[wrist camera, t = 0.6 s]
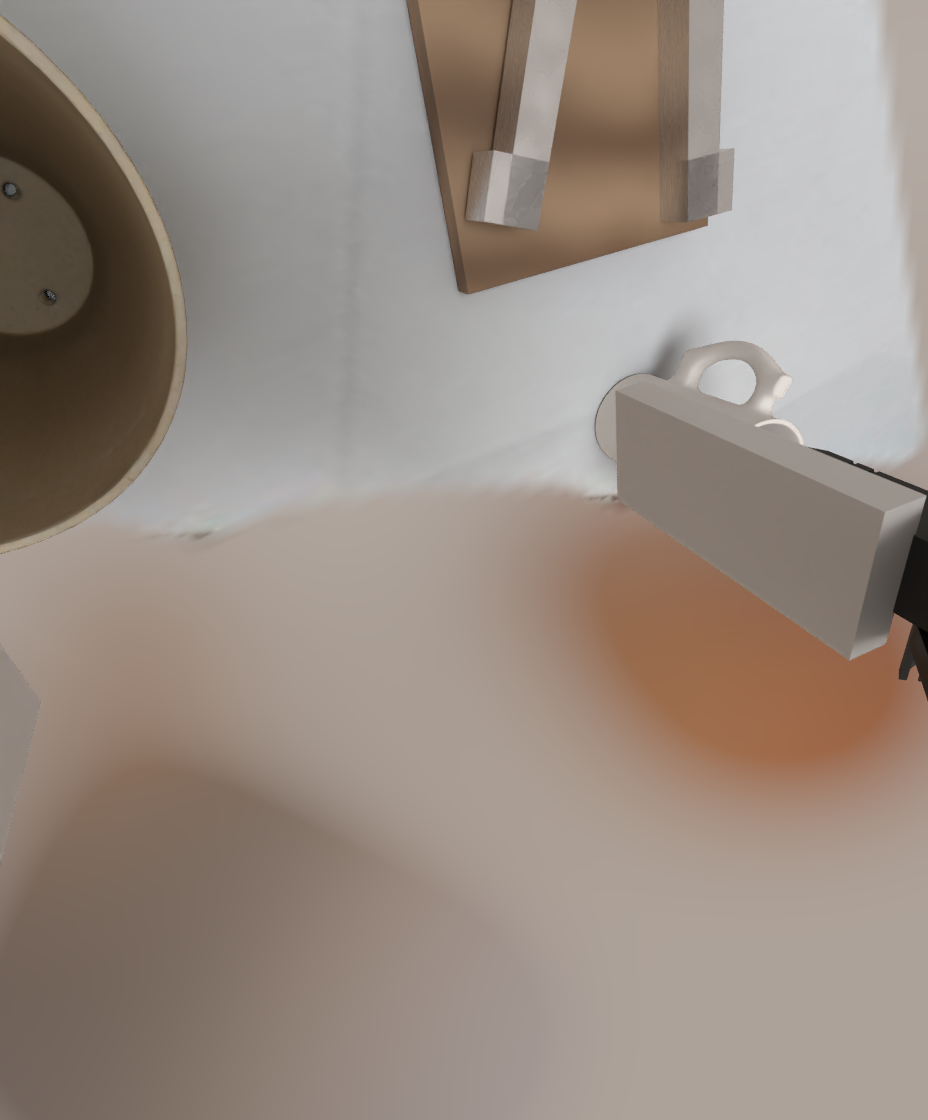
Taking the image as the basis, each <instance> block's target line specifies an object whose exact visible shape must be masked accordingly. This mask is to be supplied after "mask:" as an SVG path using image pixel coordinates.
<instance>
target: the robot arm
mask: <svg viewBox="0 0 928 1120" xmlns="http://www.w3.org/2000/svg"><path fill="white" fill-rule="evenodd" d="M615 400H616V444H617V489H618V500H619V501H620V502H622V503H623V504H625V505H626V506H628V507H629V508H630V509H632V510H633V511H635V512H636V513H638V514H639V515H641V516H642V517H643V518H645V519H646V520H648V521H649V522H651V523H652V524H654V525H655V526H657V527H658V528H659V529H661V530H662V531H664V532H665V533H666V534H668V535H669V536H671V537H672V538H674V539H675V540H677V541H678V542H679V543H681V544H682V545H684V546H685V547H687V548H688V549H690V550H691V551H692V552H694V553H695V554H697V555H698V556H700V557H701V558H703V559H704V560H706V561H707V562H708V563H710V564H711V565H713V566H714V567H715V568H717V569H718V570H720V571H722V572H723V573H724V574H726V575H727V576H728V577H730V578H731V579H733V580H734V581H736V582H737V583H739V584H740V585H742V586H743V587H744V588H746V589H747V590H749V591H750V592H752V593H753V594H754V595H756V596H757V597H759V598H760V599H762V600H763V601H765V602H766V603H767V604H769V605H770V606H772V607H773V608H775V609H776V610H778V611H779V612H781V613H782V614H783V615H785V616H786V617H788V618H789V619H791V620H792V621H793V622H795V623H796V624H798V625H799V626H801V627H802V628H804V629H805V630H806V631H808V632H809V633H811V634H813V635H814V636H815V637H816V638H818V639H819V640H821V641H822V642H824V643H825V644H826V645H828V646H829V647H831V648H832V649H834V650H835V651H837V652H838V653H839V654H841V655H842V656H844V657H845V658H847V659H848V660H851V659H854V658H856V657H858V656H860V655H862V654H864V653H867V652H869V651H871V650H873V649H875V648H877V647H880V646H882V645H884V644H886V641H887V637H888V634H889V630H890V627H891V623H892V619H893V616H894V613H896V614H897V615H899V616H901V617H902V618H904V619H906V620H907V621H909V622H911V623H912V624H913V625H912V628H911V631H910V635H909V638H908V642H907V645H906V648H905V652H904V655H903V658H902V662H901V665H900V668H899V679H901V680H907V677H908V674H909V671H910V669H911V668H912V667H913V666H915V665H916V666H917V669H918V673H919V678H918V681H921V682H922V684H923V688H924V691H925V694H926V697H927V700H928V491H927V490H924V489H922V488H920V487H917V486H914V485H912V484H909V483H907V482H904V481H902V480H899V479H897V478H894V477H892V476H889V475H887V474H884V473H882V472H876V473H875V472H874V469H872V468H869V467H867V466H864V465H862V464H859V463H857V464H854V463H853V461H852V460H849V459H847V458H844V457H842V456H839V455H837V454H834V453H832V452H829V451H825V450H820V449H815V448H810V447H806V446H803V445H801V444H798V443H796V442H793V441H791V440H789V439H786V438H784V437H781V436H779V435H776V434H774V433H771V432H769V431H766V430H764V429H761V428H759V427H756V426H754V425H752V424H749V423H747V422H744V421H742V420H739V419H737V418H734V417H732V416H729V415H727V414H724V413H722V412H719V411H717V410H715V409H712V408H710V407H707V406H705V405H702V404H700V403H697V402H695V401H692V400H690V399H687V398H685V397H682V396H680V395H678V394H675V393H673V392H670V391H668V390H665V389H663V388H660V387H658V386H655V385H653V384H650V383H648V382H645V381H644V382H641V383H637V384H634V385H631V386H627V387H624V388H621V389H618V390H615ZM40 702H41V700H40V699H39V697H38V696H37V694H36V693H35V691H34V690H33V689H32V687H31V686H30V685H29V683H28V682H27V680H26V679H25V678H24V676H23V675H22V674H21V672H20V671H19V669H18V668H17V667H16V665H15V664H14V662H13V661H12V660H11V658H10V657H9V655H8V654H7V653H6V651H5V650H4V648H3V647H2V646H1V644H0V863H1V859H2V855H3V851H4V847H5V843H6V839H7V835H8V831H9V827H10V823H11V819H12V815H13V811H14V807H15V803H16V799H17V795H18V791H19V787H20V783H21V779H22V775H23V771H24V767H25V763H26V759H27V755H28V751H29V747H30V743H31V739H32V735H33V731H34V727H35V723H36V719H37V715H38V711H39V707H40Z"/></svg>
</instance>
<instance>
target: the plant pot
mask: <svg viewBox="0 0 928 1120" xmlns="http://www.w3.org/2000/svg"><path fill="white" fill-rule="evenodd" d="M6 183H12V184H14V186H15V187H16V193H15V194H14V195H12V196H8V195H6V194H5V193H4V192H3V187H4V185H5V184H6ZM46 290H49V291H51V292H53V294H54V295H55V297H56V299H55V301H52V300H49V299H48V298H47V297H46V294H45V291H46ZM186 355H187V320H186V311H185V302H184V295H183V290H182V285H181V279H180V275H179V271H178V268H177V264H176V260H175V256H174V252H173V249H172V246H171V243H170V240H169V237H168V234H167V232H166V229H165V227H164V225H163V222H162V220H161V218H160V215H159V213H158V211H157V208H156V206H155V204H154V202H153V200H152V198H151V196H150V194H149V191H148V190H147V188H146V186H145V184H144V182H143V181H142V179H141V177H140V175H139V173H138V171H137V170H136V168H135V166H134V164H133V163H132V161H131V160H130V158H129V157H128V155H127V153H126V152H125V150H124V149H123V147H122V146H121V144H120V143H119V141H118V139H117V138H116V137H115V135H114V134H113V133H112V131H111V130H110V129H109V127H108V126H107V125H106V123H105V122H104V121H103V119H102V118H101V116H100V115H99V114H98V112H97V111H96V110H95V109H94V108H93V106H92V105H91V104H90V103H89V101H88V100H87V99H86V98H85V97H84V95H83V94H82V93H81V92H80V91H79V90H78V89H77V87H76V86H75V85H74V84H73V83H72V82H71V81H70V80H69V79H68V78H67V77H66V75H65V74H64V73H63V72H62V71H61V70H60V69H59V68H58V67H57V66H56V65H55V64H54V63H53V62H52V61H51V60H50V59H49V58H48V57H47V56H46V55H45V54H44V53H43V52H42V51H41V50H40V49H39V48H38V47H37V46H36V45H35V44H34V43H33V42H32V41H31V40H29V39H28V38H27V37H26V36H25V35H24V34H22V33H21V32H20V31H19V30H18V29H17V28H16V27H14V26H13V25H12V24H11V23H10V22H9V21H7V20H6V19H5V18H4V17H3V16H1V15H0V554H2V553H5V552H9V551H12V550H16V549H20V548H23V547H26V546H29V545H32V544H35V543H37V542H40V541H43V540H45V539H47V538H50V537H52V536H54V535H56V534H58V533H61V532H63V531H65V530H67V529H69V528H72V527H74V526H76V525H77V524H79V523H81V522H82V521H84V520H85V519H87V518H89V517H90V516H92V515H94V514H95V513H97V512H98V511H100V510H101V509H102V508H104V507H105V506H106V505H108V504H109V503H110V502H112V501H113V500H114V499H115V498H117V497H118V496H119V495H120V494H121V493H122V492H123V491H124V490H125V489H126V488H127V487H128V486H129V485H130V484H131V483H132V482H133V481H134V480H135V479H136V478H137V477H138V475H139V474H140V473H141V472H142V470H143V469H144V468H145V467H146V466H147V464H148V463H149V461H150V460H151V458H152V457H153V455H154V454H155V452H156V451H157V449H158V448H159V446H160V444H161V443H162V441H163V439H164V437H165V435H166V433H167V430H168V428H169V426H170V424H171V422H172V420H173V417H174V414H175V411H176V408H177V405H178V402H179V399H180V396H181V391H182V387H183V383H184V376H185V368H186Z"/></svg>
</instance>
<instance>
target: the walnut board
mask: <svg viewBox="0 0 928 1120" xmlns="http://www.w3.org/2000/svg"><path fill="white" fill-rule="evenodd" d="M512 4H513V0H407V5H408V11H409V16H410V22H411V28H412V33H413V39H414V44H415V50H416V55H417V61H418V67H419V72H420V78H421V83H422V89H423V95H424V100H425V106H426V111H427V117H428V122H429V128H430V134H431V139H432V145H433V150H434V156H435V161H436V167H437V173H438V178H439V184H440V189H441V195H442V201H443V206H444V212H445V217H446V223H447V228H448V234H449V240H450V245H451V251H452V256H453V262H454V267H455V273H456V279H457V284H458V290H459V291H460V292H463V293H466V294H472V293H475V292H479V291H482V290H485V289H489V288H492V287H496V286H499V285H503V284H506V283H510V282H513V281H517V280H520V279H524V278H527V277H531V276H534V275H538V274H541V273H545V272H548V271H552V270H555V269H558V268H562V267H565V266H569V265H572V264H576V263H579V262H583V261H586V260H590V259H593V258H597V257H600V256H604V255H607V254H611V253H614V252H618V251H621V250H625V249H628V248H631V247H635V246H638V245H642V244H645V243H649V242H652V241H656V240H659V239H663V238H666V237H670V236H673V235H677V234H680V233H684V232H687V231H691V230H694V229H698V228H701V227H704V226H708V217H705V218H702V219H698V220H694V221H691V222H672V221H660V176H659V100H658V23H657V0H577V4H576V9H575V15H574V21H573V27H572V33H571V39H570V44H569V50H568V56H567V62H566V68H565V74H564V79H563V85H562V91H561V97H560V103H559V108H558V114H557V120H556V126H555V132H554V138H553V143H552V149H551V155H550V161H549V167H548V173H547V178H546V184H545V190H544V196H543V202H542V207H541V213H540V219H539V225H538V231H536V230H527V229H518V228H512V227H506V226H500V225H494V224H488V223H482V222H476V221H470V220H465V217H466V209H467V201H468V193H469V185H470V177H471V169H472V161H473V153H474V152H482V151H490V150H493V143H494V135H495V128H496V121H497V113H498V106H499V99H500V91H501V84H502V77H503V69H504V62H505V55H506V48H507V40H508V33H509V26H510V18H511V11H512Z"/></svg>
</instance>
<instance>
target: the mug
mask: <svg viewBox="0 0 928 1120" xmlns="http://www.w3.org/2000/svg"><path fill="white" fill-rule="evenodd" d="M728 359H736V360H742V361H745V362H746V363H748V364H749V365H750V366H751V368H752V369H753V370H754V372H755V376H756V387H755V391H754V393H753V394H752V396H751V398H750V399H749V400H748V401H747V402H746V403H745V404H741V405H737V404H734V403H731V402H728V401H725V400H722V399H719V398H716V397H713V396H710V395H708V394H705V393H702V392H700V391H699V390H698V383H699V380H700V378H701V376H702V374H703V372H704V371H705V370H706V369H707V368H708V367H709V366H711V365H712V364H714V363H716V362H719V361H721V360H728ZM644 381H645V382H648V383H650V384H653V385H655V386H658V387H660V388H663V389H665V390H668V391H670V392H673V393H675V394H678V395H680V396H682V397H685V398H687V399H690V400H692V401H695V402H697V403H700V404H702V405H705V406H707V407H710V408H712V409H715V410H717V411H719V412H722V413H724V414H727V415H729V416H732V417H734V418H737V419H739V420H742V421H744V422H747V423H749V424H752V425H754V426H756V427H759V428H761V429H764V430H766V431H769V432H771V433H774V434H776V435H779V436H781V437H784V438H786V439H789V440H791V441H793V442H796V443H798V444H801V445H803V446H804V443H803V439H802V436H801V434H800V432H799V430H798V429H797V428H796V427H795V426H794V425H793V424H792V423H790V422H789V421H786V420H783V419H777V418H774V417H773V416H772V414H771V410H772V406H773V404H774V403H775V401H776V400H778V399H780V398H782V397H783V396H784V395H785V393H786V391H787V389H788V387H789V386H790V385H791V383H792V381H793V379H792V377H790V376H789V375H787V374H785V373H784V372H783V371H782V369H781V368H780V367H779V365H778V364H777V363H776V362H775V360H774V359H773V358H772V357H771V356H770V355H769V354H768V353H767V352H766V351H765V350H763V349H762V348H760V347H758V346H756V345H754V344H752V343H748V342H743V341H726V342H720V343H716V344H712V345H707V346H703V347H699V348H694V349H690V350H688V351H686V352H685V354H684V355H683V358H682V360H681V363H680V365H679V367H678V369H677V371H676V372H675V374H674V375H673V376H672V377H671V378H670V379H668V380H665V379H662V378H659V377H656V376H653V375H649V374H637V375H633V376H630V377H627V378H625V379H624V380H622V381H620V382H619V383H618V384H616V385H615V386H614V387H613V388H612V389H611V390H610V391H609V393H608V394H607V395H606V397H605V398H604V400H603V402H602V404H601V406H600V408H599V411H598V414H597V418H596V425H595V432H596V438H597V441H598V444H599V446H600V447H601V449H602V450H603V451H604V453H605V454H607V455H608V456H609V457H611V458H612V459H614V460H615V461H616V462H617V444H616V400H615V390H618V389H621V388H624V387H627V386H631V385H634V384H637V383H641V382H644Z"/></svg>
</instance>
